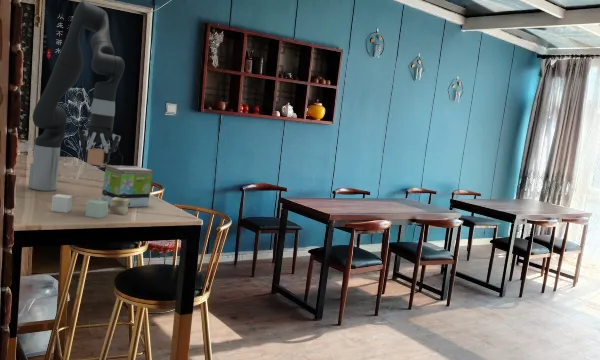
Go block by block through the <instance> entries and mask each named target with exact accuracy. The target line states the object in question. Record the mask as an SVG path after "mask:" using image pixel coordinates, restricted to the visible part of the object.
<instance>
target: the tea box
mask: <svg viewBox="0 0 600 360" xmlns="http://www.w3.org/2000/svg"><path fill="white" fill-rule="evenodd" d="M153 172H154V171H153V170H152V169H149V168H145V167H142V166H138V165H137V166H136V165H111V164H110V165H108V164H107V165H105V169H104V176H103V184H102V192H101V199H100V200H101V201H106V202H109V203H108V207H110V205H111V199H113V198H114V197H118V198H125V199H129V205H128V208H131V207H133V208H134V207H139V208H140V207H148V206H149V202H150V201H149V200H150V195H151V187H152V182H153V181H152V180H153Z"/></svg>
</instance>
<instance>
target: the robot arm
mask: <svg viewBox="0 0 600 360" xmlns="http://www.w3.org/2000/svg"><path fill="white" fill-rule="evenodd" d="M73 12H74V13H73V16H72V18H71V19H72V20H71V21H70V25H69V30H68V33H67V35H66V37H65V40H64V42H63V46H62V48H61V50H60V52H59V55H58V57H57V59H56V61H55V63H54V67H53V70H52V71H51V74H50V76H49V79H48V82H47V84H46V86H45V88H44V90H43V92H42V94H41V96H40V98H39V100H38V102H37V103H36V105H35V107H34V109H33V112H32V113H33V114H32V122H33V124H34V126H36V127H37V128H38V129H44V131H43V133H42V134H40V135H39V136H36V138H34V147H33V159H32V160H33V161H32V163H30V167H29V175H28V176H29V177H28V185H27V186H28V187H27V188H28V189H32V190H36V191H43V192H44V191H47V192H48V191H52V192H53V191H56V190H57V186H58V176H59V167H60V166H59V165H60V155H61V147H62V142H63V141H64V138H65V132H66V126H67V114H66V111H65V109H64V108H63V107H62V106H59V105H58V104H59V102H60V99H61V98H62V97H63V96H64V95H65V94H66V93H67V92H68V91H69V90H70V89H71V88H72V87H73V86H74V85H75V84H76V83H77V82H78V80H79V78H80V76H81V73H82V71H83V69H84V64H85V63H84V56H83V52H82V48H81V43H80V42H81V41H80V37H81V31H82V29H85V30H88V31H91V32H93V33H94V34H92V36H91V38H90V47H91V50H92V59H91V65H90V66H91V69H92V71H93V72H94V73H96V74H97V75H102V76H108V77H110V78H109V80H107V81H97V82H95V84H94V89H93V99H92V103H91V107H90V108H91V109H90V119H89V126H88V128H87V130H85V129H80V130H79V138H80V146H81V148H83V149H85V150H86V152H85V160H87V158H88V149H93V148H95V145H96V144H97V143H99V144H102V147H103V150H105V153H104V161H103V163H104V164H107V165H108V163H109V162H110V157H111V153H114V152H117V150H118V147H119V144H120V142H121V139H122V136H121V135H117V134H115V133H114V130H113V129H114V124H115V123H114V122H115V115H116V96H117V89H118V86H119V83H120V80H121V78H122V77H123V74H124V71H125V68H126V65H125V61H124V59H123V58H122V57H121V56H118V55H115V49H114V46H113V43H112V41H111V35H110V20H109V15H108V13H107V11H105V10H104V9H103V8H101V7H99V6H97V5H94V4H93V3H90V2H89V1H88V2H87V1H86V0H82V1H80V2H79V3H78V4H77V6H76V7H75V10H74V11H73ZM88 135H89V137H90V138H89V141H88ZM111 139H112V144H111V142H110V140H111Z"/></svg>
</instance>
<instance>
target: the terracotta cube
mask: <svg viewBox="0 0 600 360" xmlns="http://www.w3.org/2000/svg"><path fill="white" fill-rule="evenodd" d="M104 153H105V150H104V149H100V148H95V147H93V149H88V158H87V159H86V164H87V165H95V166H102V167H103V166H106V165H108V163H107V164H104V163H103V161H104Z"/></svg>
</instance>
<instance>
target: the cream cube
mask: <svg viewBox="0 0 600 360" xmlns="http://www.w3.org/2000/svg"><path fill="white" fill-rule="evenodd" d="M72 204H73V195H68V194H60V193H56V194H55V195H53V196H52V199H51V209H50V210H51V212H57V213H66V214H67V213H68V212H69V213H70V211H71V210H72Z"/></svg>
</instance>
